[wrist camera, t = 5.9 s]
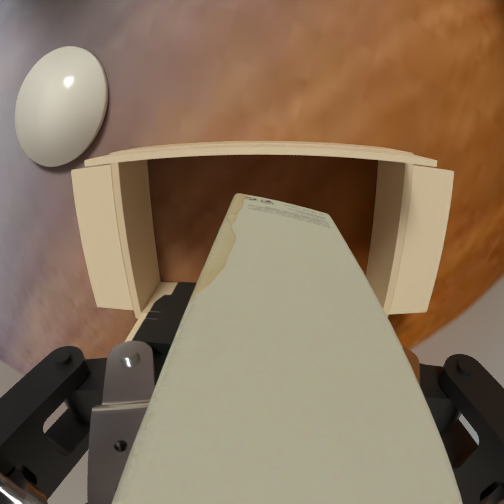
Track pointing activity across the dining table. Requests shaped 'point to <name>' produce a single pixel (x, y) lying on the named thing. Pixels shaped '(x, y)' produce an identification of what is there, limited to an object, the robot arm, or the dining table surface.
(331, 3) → the dining table surface
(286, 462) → the skincare box
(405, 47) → the dining table surface
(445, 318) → the dining table surface
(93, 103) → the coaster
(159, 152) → the carton
